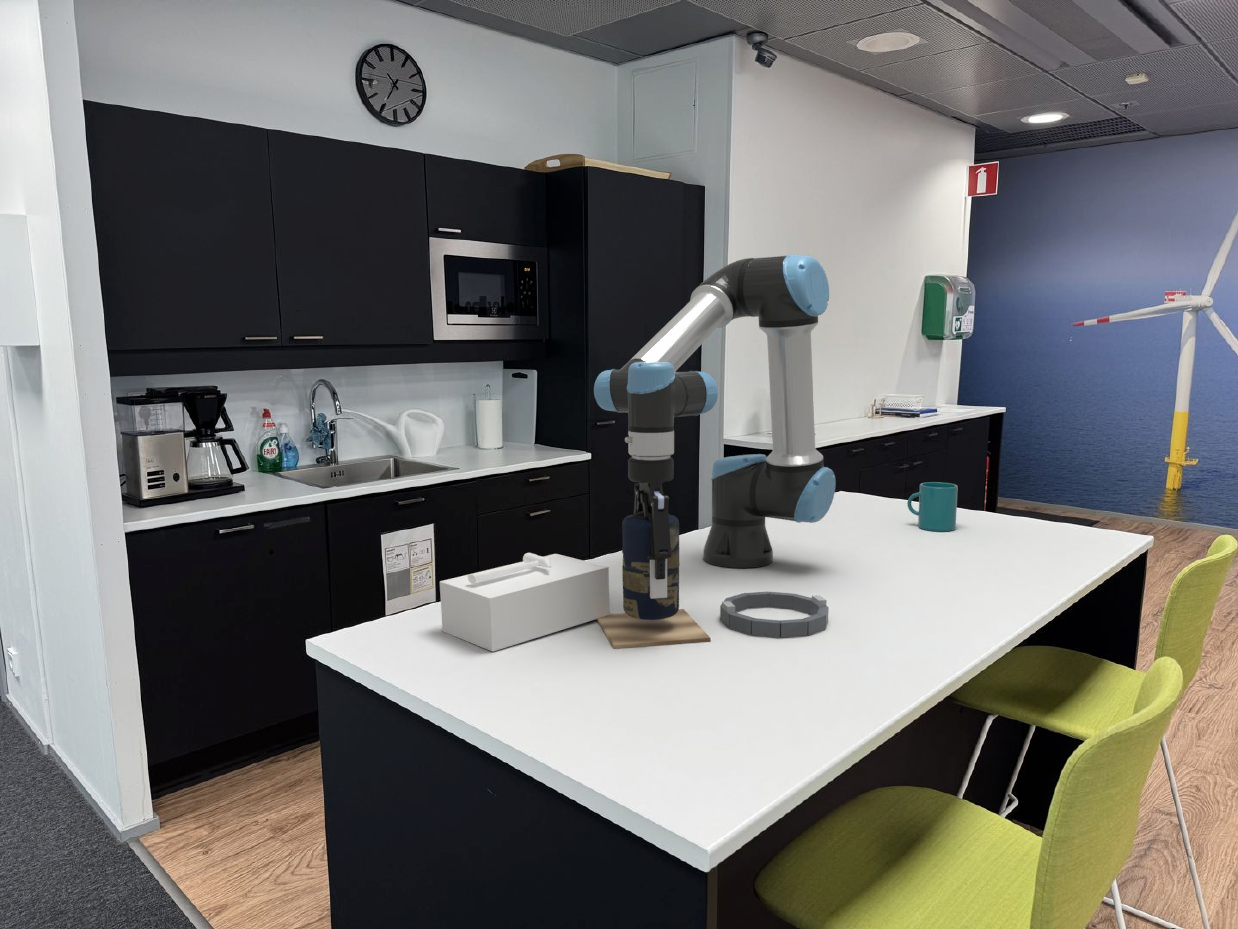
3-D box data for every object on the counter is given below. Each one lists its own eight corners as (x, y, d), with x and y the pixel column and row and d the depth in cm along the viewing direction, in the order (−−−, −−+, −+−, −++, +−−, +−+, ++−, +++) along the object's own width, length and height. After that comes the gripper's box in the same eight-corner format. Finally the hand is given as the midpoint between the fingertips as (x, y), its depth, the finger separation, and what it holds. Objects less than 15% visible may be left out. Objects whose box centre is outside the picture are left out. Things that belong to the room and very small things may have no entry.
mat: (595, 618, 160) (595, 615, 159) (683, 612, 163) (683, 609, 163) (613, 648, 144) (613, 645, 144) (710, 641, 147) (710, 637, 147)
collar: (708, 608, 165) (708, 590, 164) (801, 602, 168) (802, 584, 168) (741, 641, 147) (742, 620, 147) (845, 633, 151) (845, 612, 150)
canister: (648, 628, 146) (647, 518, 144) (611, 614, 154) (610, 509, 151) (691, 616, 152) (691, 510, 150) (653, 603, 160) (653, 502, 157)
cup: (910, 522, 239) (912, 480, 238) (958, 526, 233) (960, 483, 232) (902, 528, 231) (904, 485, 230) (952, 533, 226) (954, 489, 224)
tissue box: (609, 614, 159) (608, 554, 158) (492, 651, 142) (489, 584, 141) (557, 598, 170) (555, 541, 168) (442, 631, 153) (438, 568, 151)
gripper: (615, 449, 159) (615, 573, 162) (644, 466, 138) (644, 609, 141) (656, 447, 161) (656, 570, 164) (691, 465, 139) (691, 606, 142)
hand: (651, 588), depth 152 cm, fingers closed on canister, 9 cm apart
